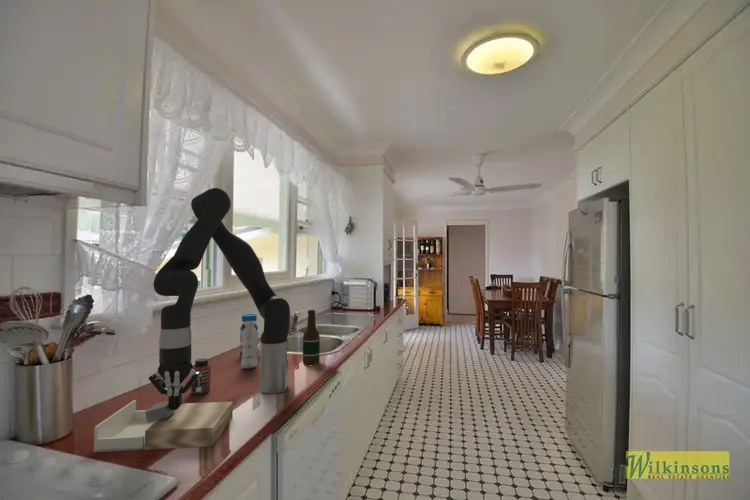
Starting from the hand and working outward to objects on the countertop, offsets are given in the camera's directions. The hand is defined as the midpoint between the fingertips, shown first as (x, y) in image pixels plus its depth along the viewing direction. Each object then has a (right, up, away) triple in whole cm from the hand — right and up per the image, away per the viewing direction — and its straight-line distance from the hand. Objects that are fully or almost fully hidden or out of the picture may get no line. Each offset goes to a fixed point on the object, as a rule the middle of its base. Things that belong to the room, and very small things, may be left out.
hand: (175, 408), depth 92 cm
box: (-9, -6, -1) cm, 11 cm away
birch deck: (+4, -7, +1) cm, 8 cm away
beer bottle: (+25, -9, +62) cm, 67 cm away
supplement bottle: (-8, -8, +28) cm, 30 cm away
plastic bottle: (0, -8, +55) cm, 56 cm away
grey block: (-3, -2, 0) cm, 4 cm away
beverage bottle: (-7, -9, +74) cm, 75 cm away
